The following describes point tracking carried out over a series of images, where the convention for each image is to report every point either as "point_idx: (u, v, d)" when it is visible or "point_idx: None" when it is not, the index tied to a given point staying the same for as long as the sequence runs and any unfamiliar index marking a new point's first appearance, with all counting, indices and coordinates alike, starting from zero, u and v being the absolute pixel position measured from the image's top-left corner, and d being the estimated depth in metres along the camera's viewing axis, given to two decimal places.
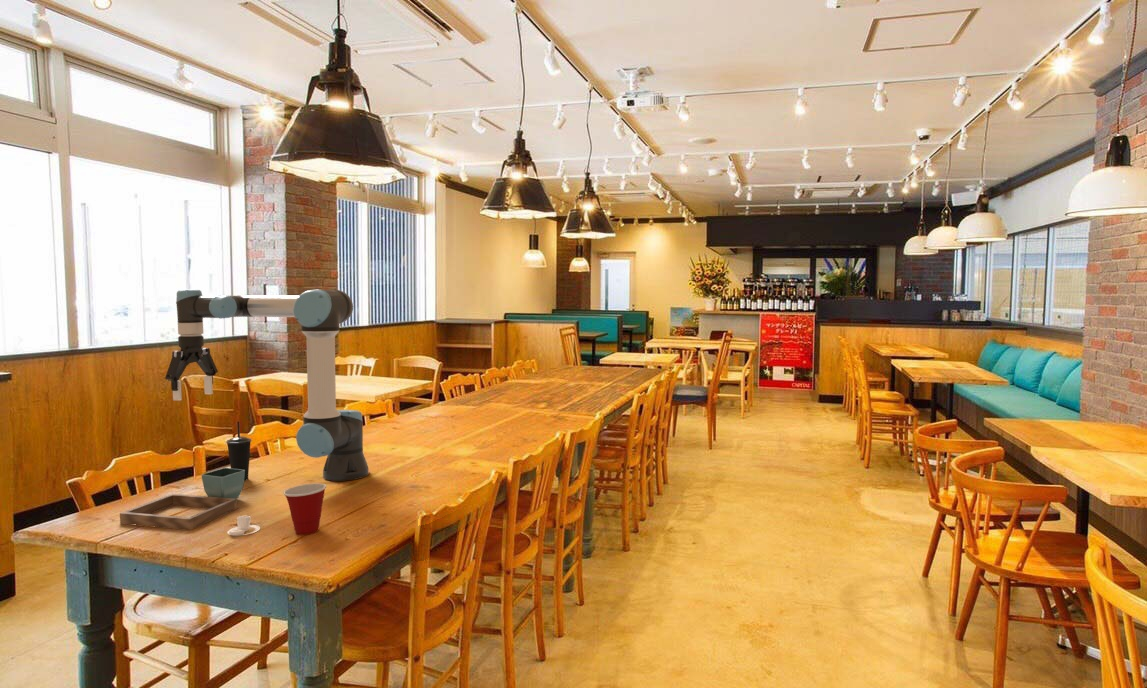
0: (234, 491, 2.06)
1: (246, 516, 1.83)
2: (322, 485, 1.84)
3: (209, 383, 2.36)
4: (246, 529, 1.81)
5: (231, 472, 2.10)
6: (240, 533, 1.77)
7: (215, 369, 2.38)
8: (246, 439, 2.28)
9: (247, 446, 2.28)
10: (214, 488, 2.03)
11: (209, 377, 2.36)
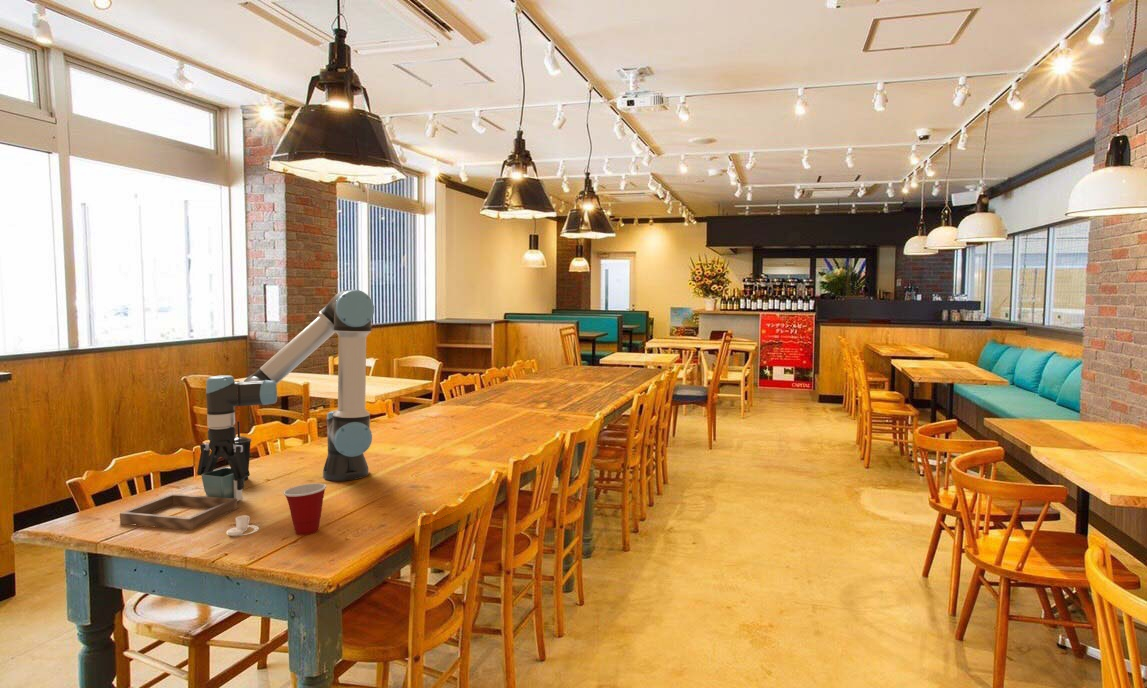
0: None
1: (245, 516, 1.83)
2: (322, 485, 1.84)
3: None
4: (245, 529, 1.81)
5: (231, 472, 2.10)
6: (239, 533, 1.77)
7: (241, 473, 2.04)
8: (246, 439, 2.28)
9: (247, 446, 2.28)
10: (214, 488, 2.03)
11: None
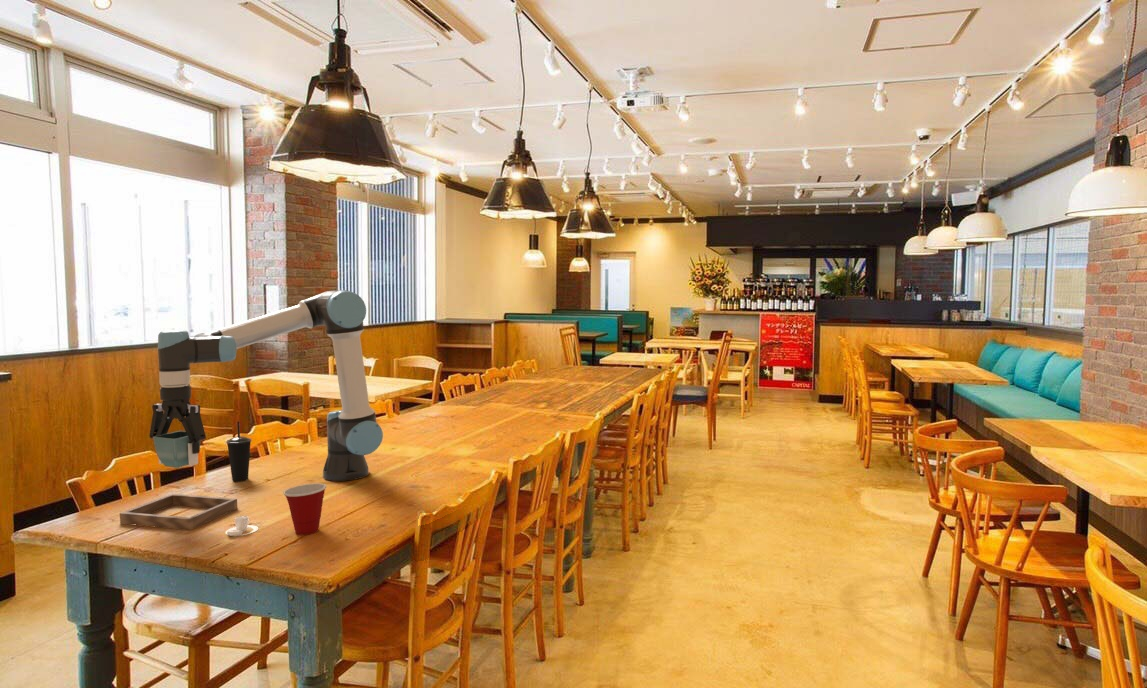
0: None
1: (244, 516, 1.83)
2: (322, 485, 1.84)
3: None
4: (244, 529, 1.81)
5: (187, 435, 1.95)
6: (238, 533, 1.77)
7: (196, 435, 1.88)
8: (246, 439, 2.28)
9: (247, 446, 2.28)
10: (166, 451, 1.87)
11: None
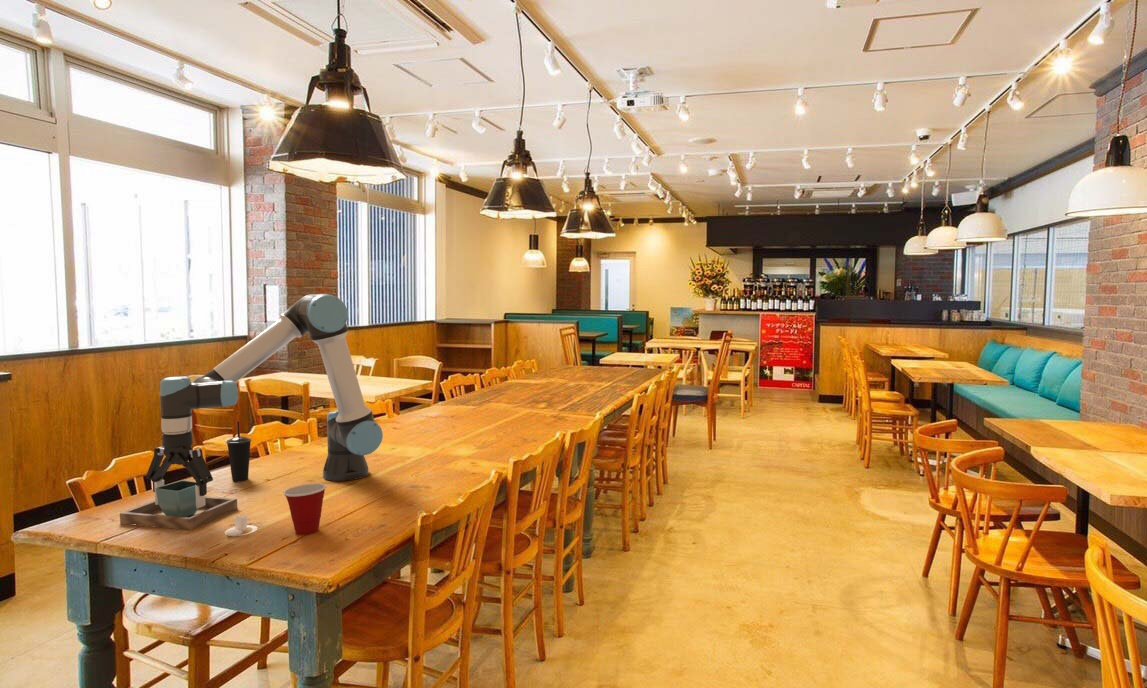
0: (191, 506, 1.92)
1: (243, 516, 1.82)
2: (322, 485, 1.84)
3: None
4: (243, 529, 1.81)
5: (189, 485, 1.96)
6: (237, 533, 1.77)
7: (203, 478, 1.89)
8: (246, 439, 2.28)
9: (247, 446, 2.28)
10: (169, 503, 1.88)
11: None
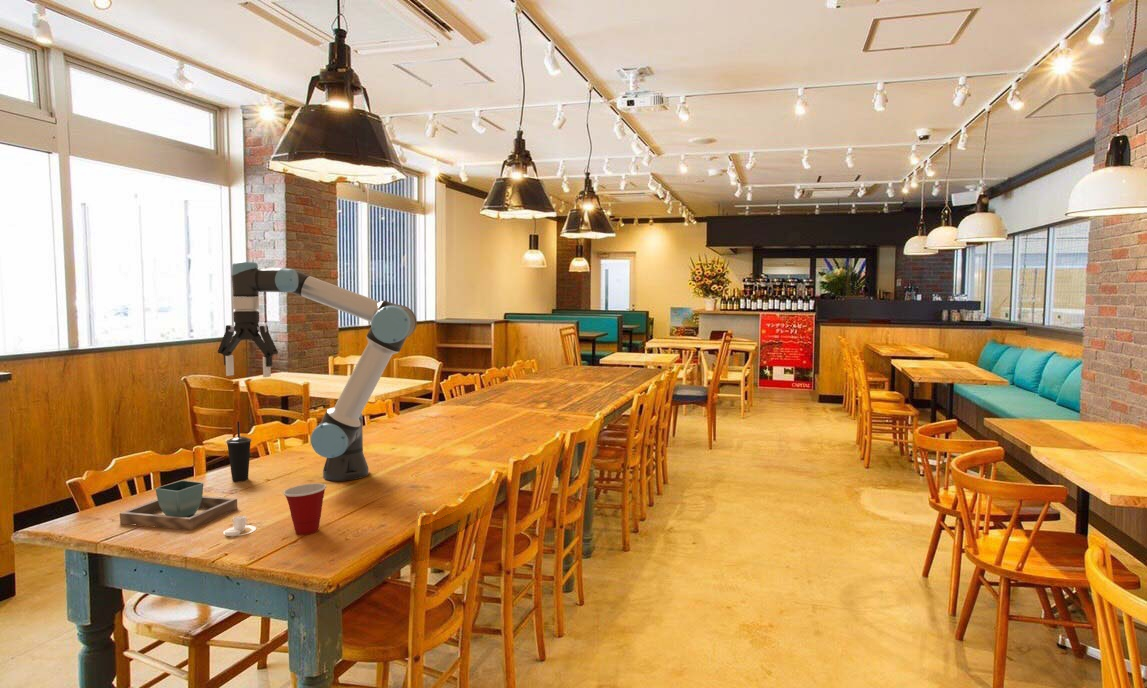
0: (191, 506, 1.92)
1: (242, 516, 1.82)
2: (322, 485, 1.84)
3: None
4: (242, 529, 1.81)
5: (189, 485, 1.96)
6: (236, 533, 1.77)
7: (270, 350, 2.14)
8: (246, 439, 2.28)
9: (247, 446, 2.28)
10: (169, 503, 1.88)
11: None
